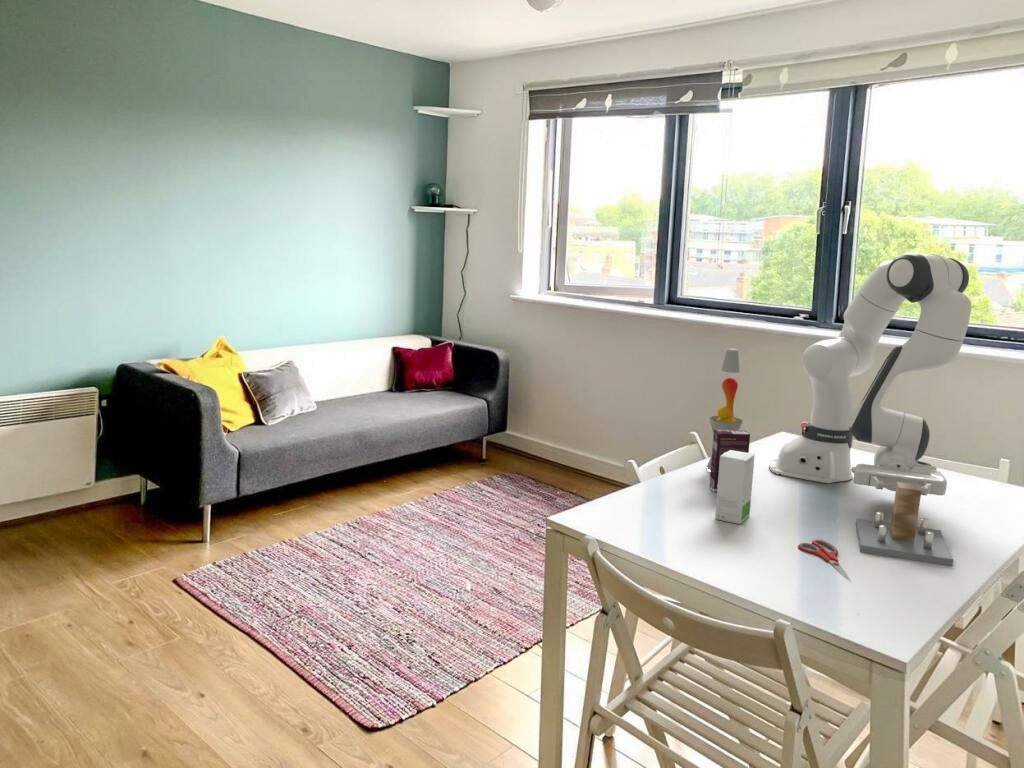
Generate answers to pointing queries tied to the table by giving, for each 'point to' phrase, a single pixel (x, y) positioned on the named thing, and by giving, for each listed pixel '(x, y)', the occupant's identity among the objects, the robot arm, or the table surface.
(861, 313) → the robot arm
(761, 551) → the table surface
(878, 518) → the standoff pins
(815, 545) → the scissors
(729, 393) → the lava lamp
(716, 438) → the supplement box
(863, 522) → the plate
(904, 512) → the oak block
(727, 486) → the skincare box
